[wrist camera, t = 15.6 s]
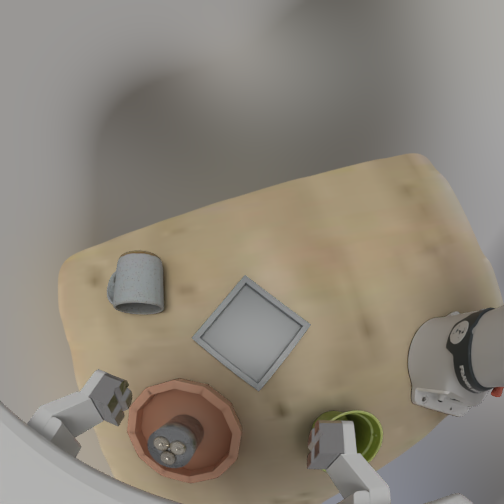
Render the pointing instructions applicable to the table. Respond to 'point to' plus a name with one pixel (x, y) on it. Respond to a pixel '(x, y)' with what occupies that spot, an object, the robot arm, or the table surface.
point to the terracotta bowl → (198, 406)
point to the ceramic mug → (137, 284)
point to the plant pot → (360, 430)
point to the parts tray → (251, 333)
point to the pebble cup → (176, 441)
